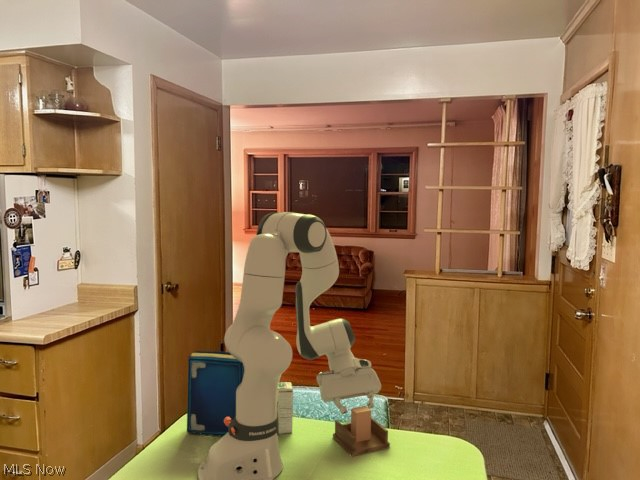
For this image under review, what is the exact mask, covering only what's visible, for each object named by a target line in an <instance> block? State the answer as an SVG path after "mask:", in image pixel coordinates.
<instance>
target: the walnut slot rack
mask: <svg viewBox="0 0 640 480" xmlns="http://www.w3.org/2000/svg"><path fill="white" fill-rule="evenodd" d="M332 438H333V439H334V440H335V442H337V444H338V445H340V446H341V448H342V449H344V451H345V452H346V453H347V454H348V455H349V456H350V457H353V456H359V455H362V454H366V453H371V452H376V451H379V450H384V449H387V448H390V447H391V445H390V444H391V443H390V442H389V430H388V429H386V428H385V426H383V425H382V424H380V423H379V422H378V421H377V420H375V418H373V417H372V416H371V439H370V440H365V441H361V442H356V437H355V436H354V435H353V434H352V433H351V421H350V422H345V423H341V422H340V421H339V420H337V419H335V420H334V432H333V433H332Z"/></svg>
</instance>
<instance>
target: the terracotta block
mask: <svg viewBox="0 0 640 480" xmlns="http://www.w3.org/2000/svg"><path fill="white" fill-rule="evenodd" d="M371 417H372V410H371V409H369V408H368V406H367V405H362V406H358V407H353V408H350V422H351V433H352V434H353V435H354V436H355V437H356V442H361V441H365V440H370V439H371Z"/></svg>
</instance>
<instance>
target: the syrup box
mask: <svg viewBox="0 0 640 480" xmlns="http://www.w3.org/2000/svg"><path fill="white" fill-rule="evenodd" d="M293 410H294V387H293V384H292V382H290V381H289V382H287V381H281V382H280V381H279V385H278V391H277V415H278V418H279V434H290V433H293V415H294V414H293ZM279 434H278V435H279Z"/></svg>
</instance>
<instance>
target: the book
mask: <svg viewBox="0 0 640 480" xmlns="http://www.w3.org/2000/svg"><path fill="white" fill-rule="evenodd" d="M187 360H188V361H187V362H188V363H187V364H188V365H187V403H186V404H187V413H186V414H187V415H186V433H189V434H197V435H198V434H199V435H206V436H218V437H223V436H224V435H225V434H227V433H228V426H226V425H225V423H224V419H225V417H230V418H231V420H233V419H234V418H235V416H236V390H237V387H238V386H239V385H240V384H241V383H242V380H243V375H244V365H243V363H242V362H240V361H239V360H237V359H236V358H234V357H233V356H232V355H231V354H230V352H229V351H219V350H218V351H217V350H195V351H194V352H192V353H191V355H188V359H187Z"/></svg>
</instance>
